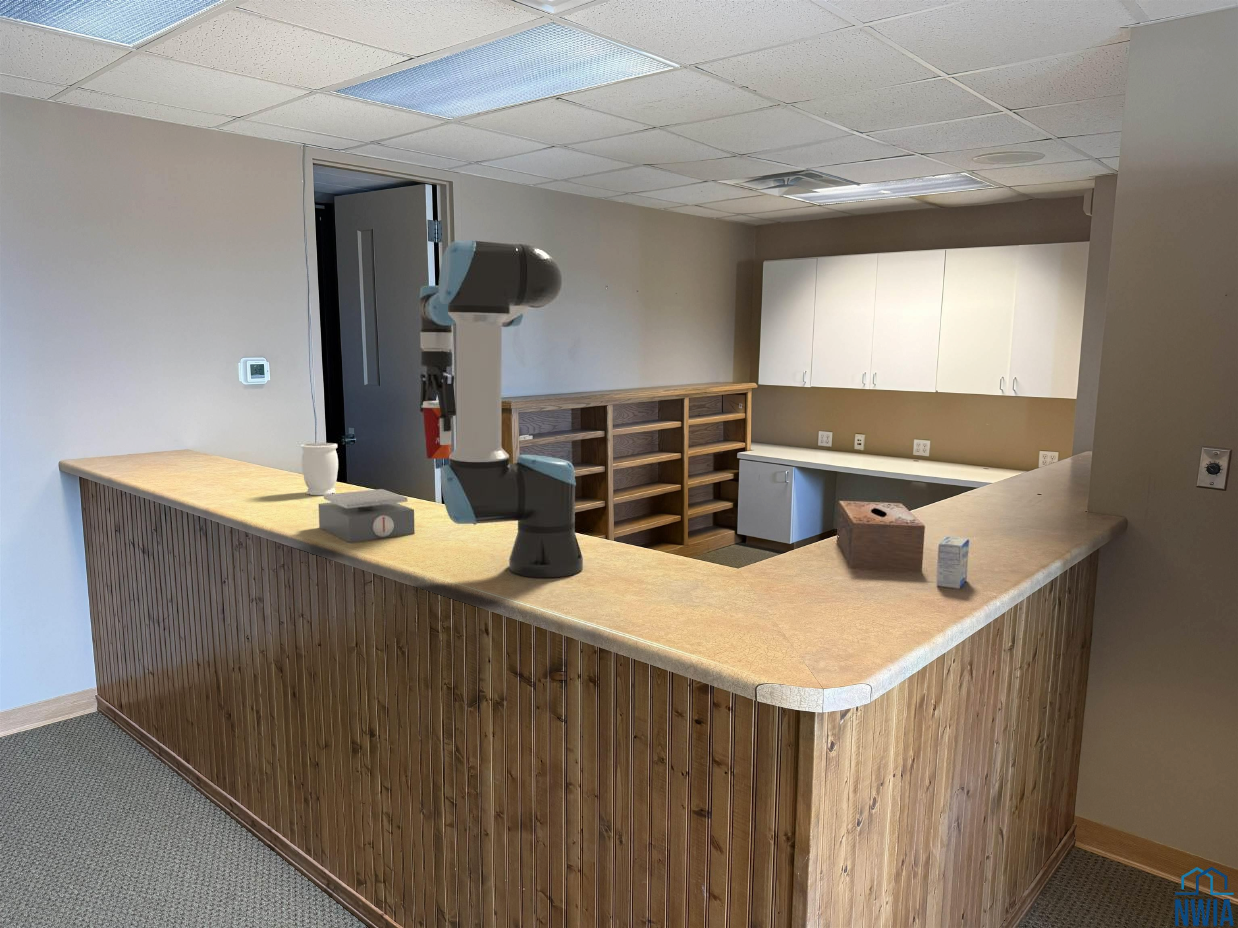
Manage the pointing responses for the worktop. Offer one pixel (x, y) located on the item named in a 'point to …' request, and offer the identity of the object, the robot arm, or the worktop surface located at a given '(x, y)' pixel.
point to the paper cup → (433, 431)
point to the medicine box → (952, 562)
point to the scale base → (366, 521)
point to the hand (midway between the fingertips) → (438, 442)
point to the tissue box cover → (880, 536)
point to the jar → (320, 467)
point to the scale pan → (365, 498)
